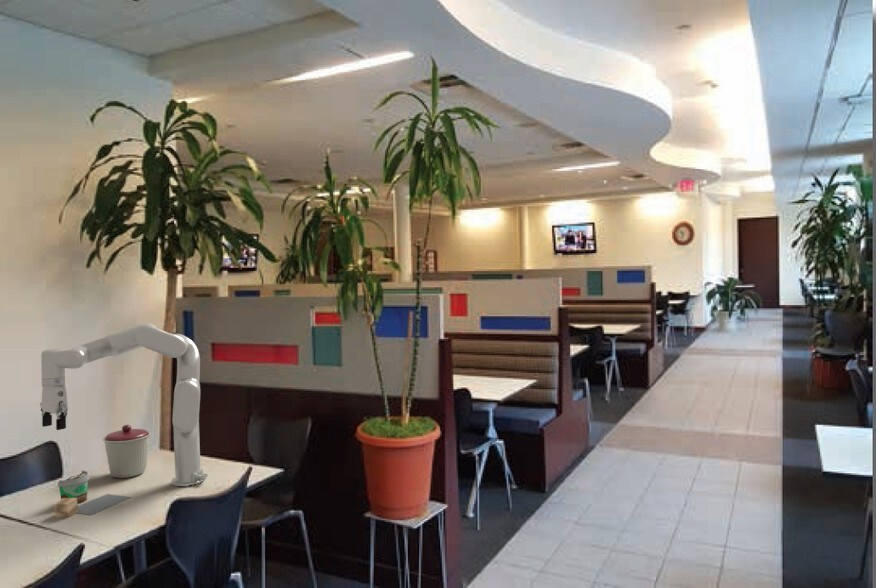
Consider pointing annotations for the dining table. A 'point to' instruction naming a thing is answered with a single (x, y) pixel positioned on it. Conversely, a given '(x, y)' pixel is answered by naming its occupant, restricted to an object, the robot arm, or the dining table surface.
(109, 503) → the mat
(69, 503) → the oak block
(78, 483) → the food container
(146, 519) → the dining table surface
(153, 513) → the dining table surface
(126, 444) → the canister
